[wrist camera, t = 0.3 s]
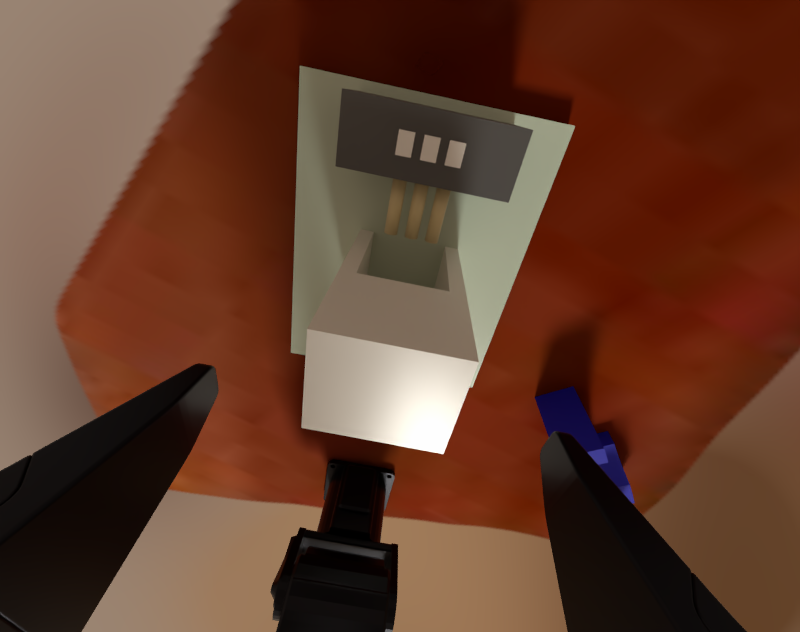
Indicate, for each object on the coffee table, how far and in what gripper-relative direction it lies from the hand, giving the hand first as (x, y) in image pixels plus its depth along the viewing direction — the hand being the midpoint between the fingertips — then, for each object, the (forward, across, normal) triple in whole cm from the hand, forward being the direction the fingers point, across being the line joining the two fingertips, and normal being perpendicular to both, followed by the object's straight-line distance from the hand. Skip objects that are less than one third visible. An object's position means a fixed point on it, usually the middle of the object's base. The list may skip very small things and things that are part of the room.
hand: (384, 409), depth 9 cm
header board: (+15, 0, +3) cm, 15 cm away
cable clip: (+15, -18, +16) cm, 28 cm away
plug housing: (+14, 0, +4) cm, 14 cm away
